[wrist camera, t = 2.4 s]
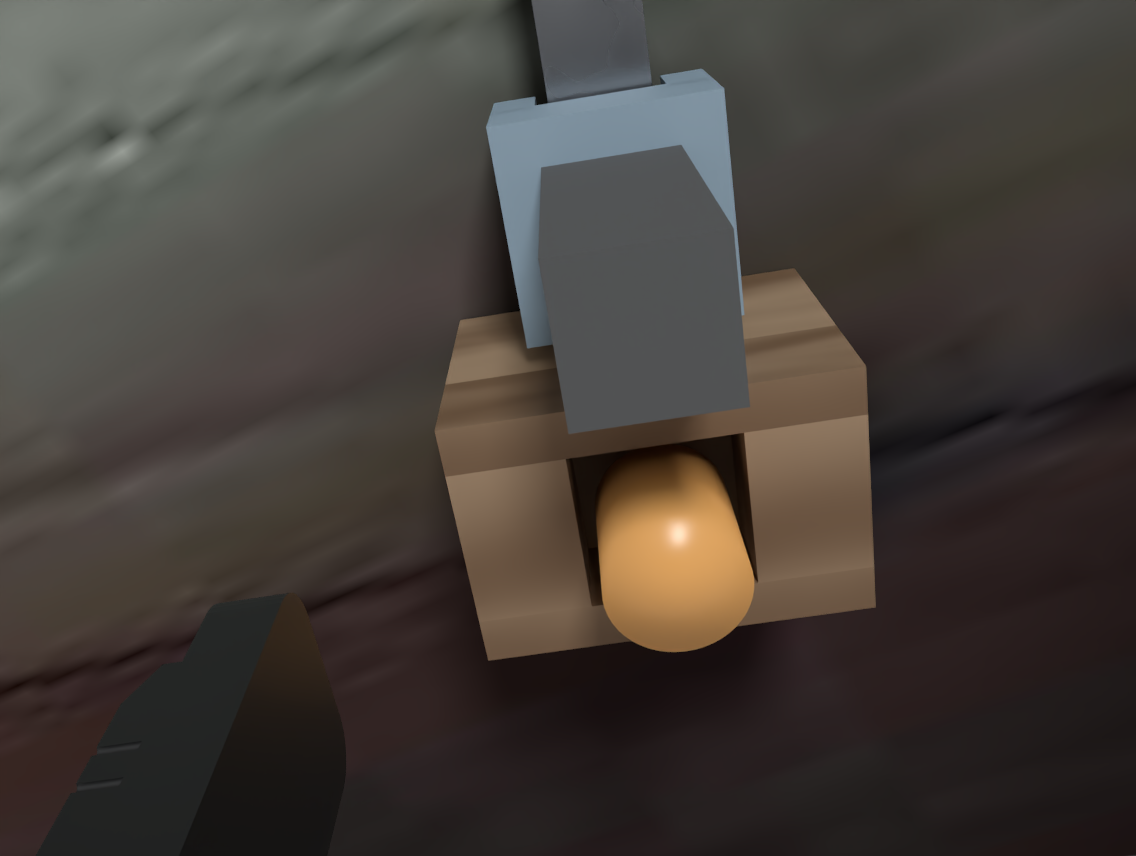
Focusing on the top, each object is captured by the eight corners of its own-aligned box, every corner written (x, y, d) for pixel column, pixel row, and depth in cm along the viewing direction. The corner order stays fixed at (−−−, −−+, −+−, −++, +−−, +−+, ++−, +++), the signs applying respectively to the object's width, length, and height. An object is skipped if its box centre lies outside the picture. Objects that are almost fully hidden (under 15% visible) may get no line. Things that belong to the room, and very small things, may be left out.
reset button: (585, 454, 23) (591, 535, 20) (720, 433, 23) (747, 513, 20) (604, 567, 25) (613, 661, 21) (732, 549, 24) (760, 641, 21)
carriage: (494, 103, 25) (460, 204, 16) (701, 68, 25) (795, 150, 15) (529, 300, 27) (519, 495, 18) (721, 270, 27) (815, 452, 18)
